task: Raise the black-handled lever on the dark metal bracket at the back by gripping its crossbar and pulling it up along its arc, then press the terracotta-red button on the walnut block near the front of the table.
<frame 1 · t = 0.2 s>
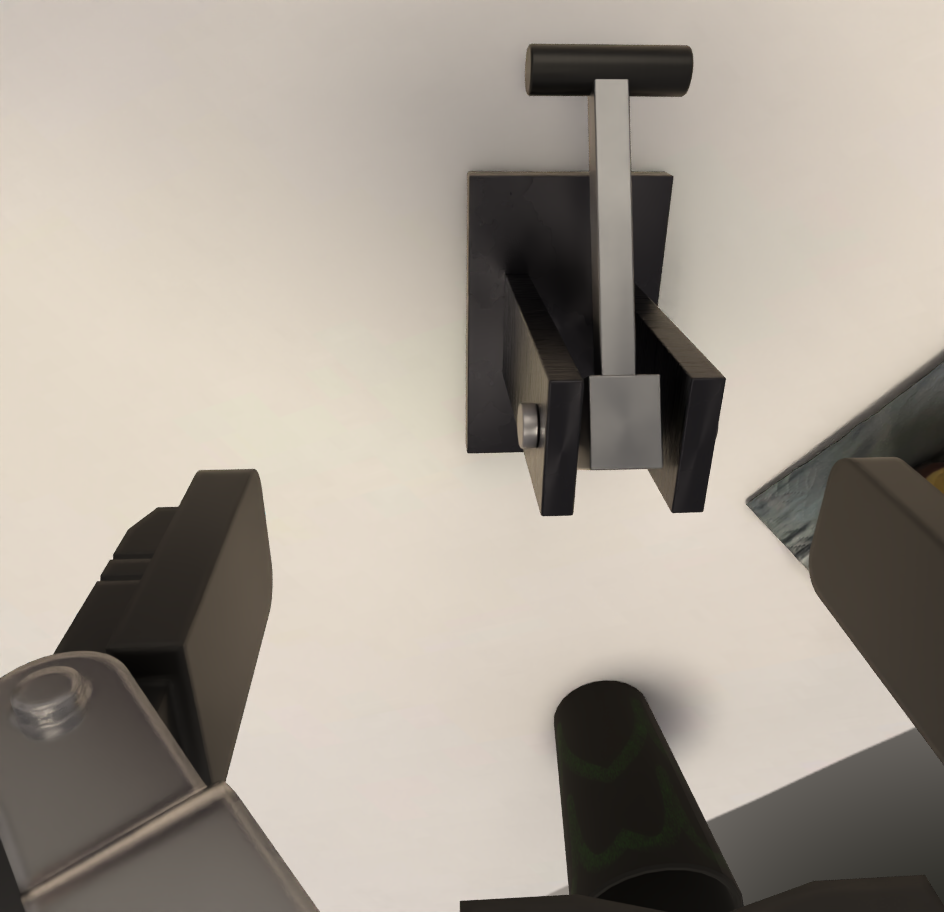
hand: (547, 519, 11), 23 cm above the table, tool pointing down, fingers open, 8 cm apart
cup: (600, 714, 45), on the table
lever: (612, 257, 24), point 9 cm above the table, hinge at -28.0°
bracket: (558, 316, 34), on the table
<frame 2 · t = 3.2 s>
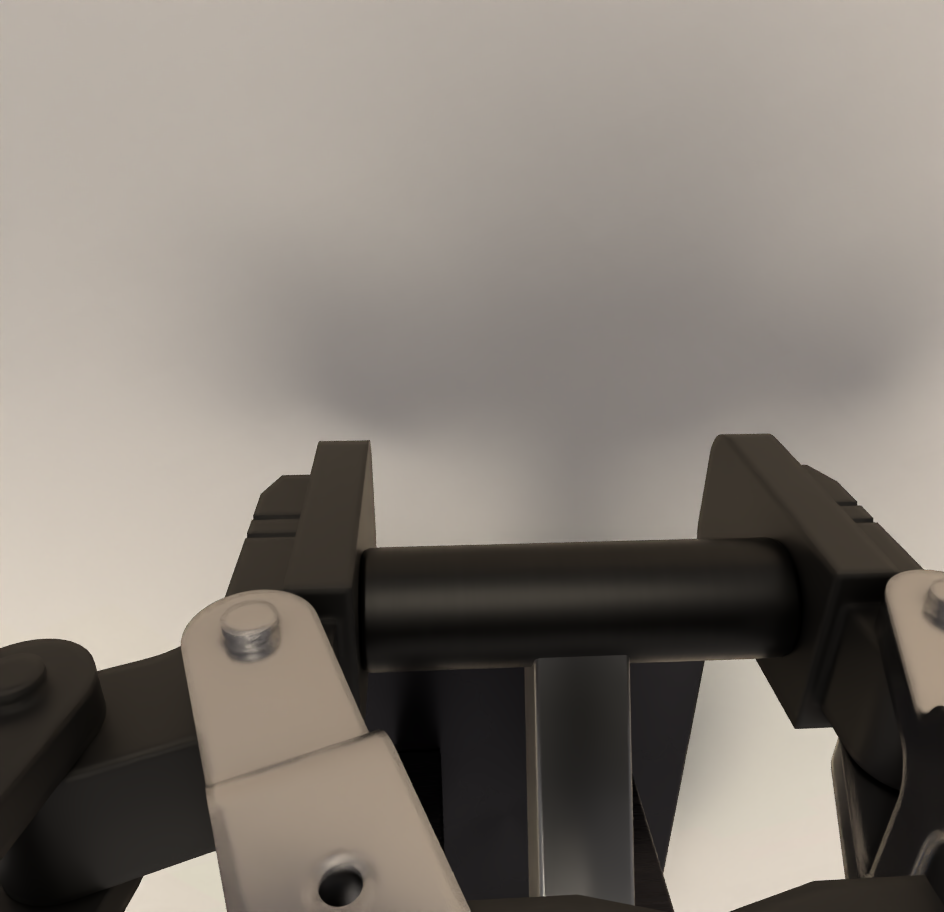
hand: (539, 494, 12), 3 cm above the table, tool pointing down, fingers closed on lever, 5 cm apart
bracket: (501, 771, 19), on the table
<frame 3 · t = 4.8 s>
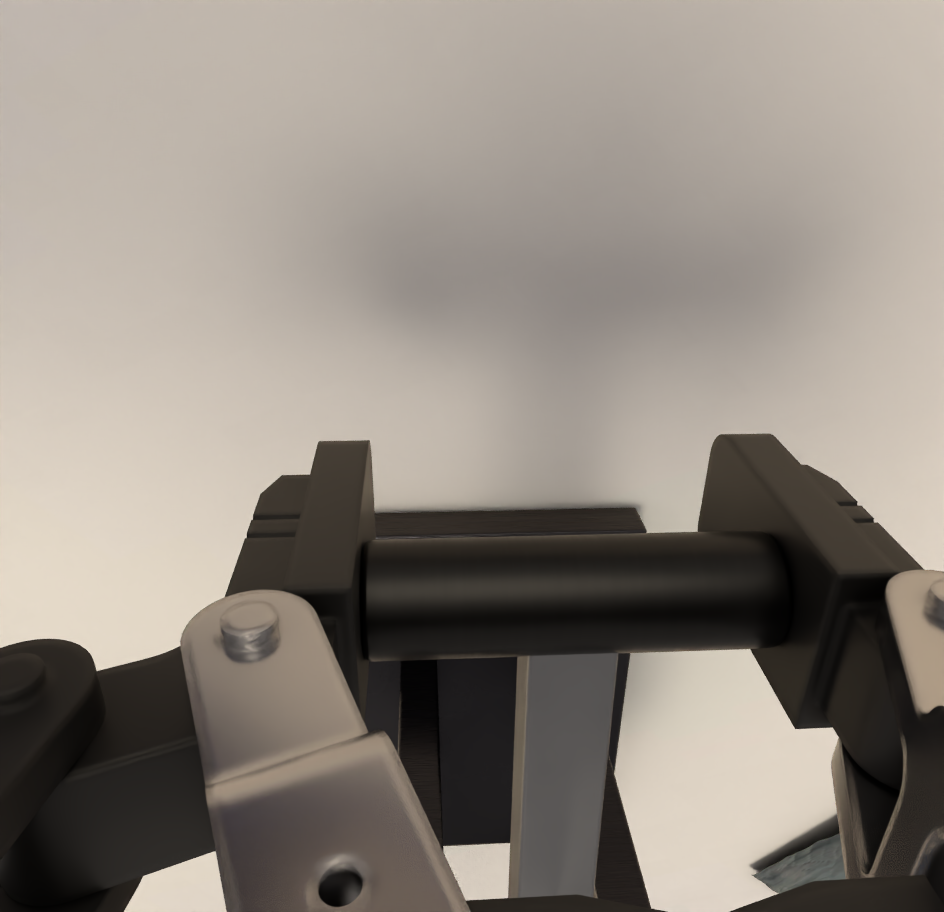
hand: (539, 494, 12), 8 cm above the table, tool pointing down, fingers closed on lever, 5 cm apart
bracket: (485, 679, 24), on the table
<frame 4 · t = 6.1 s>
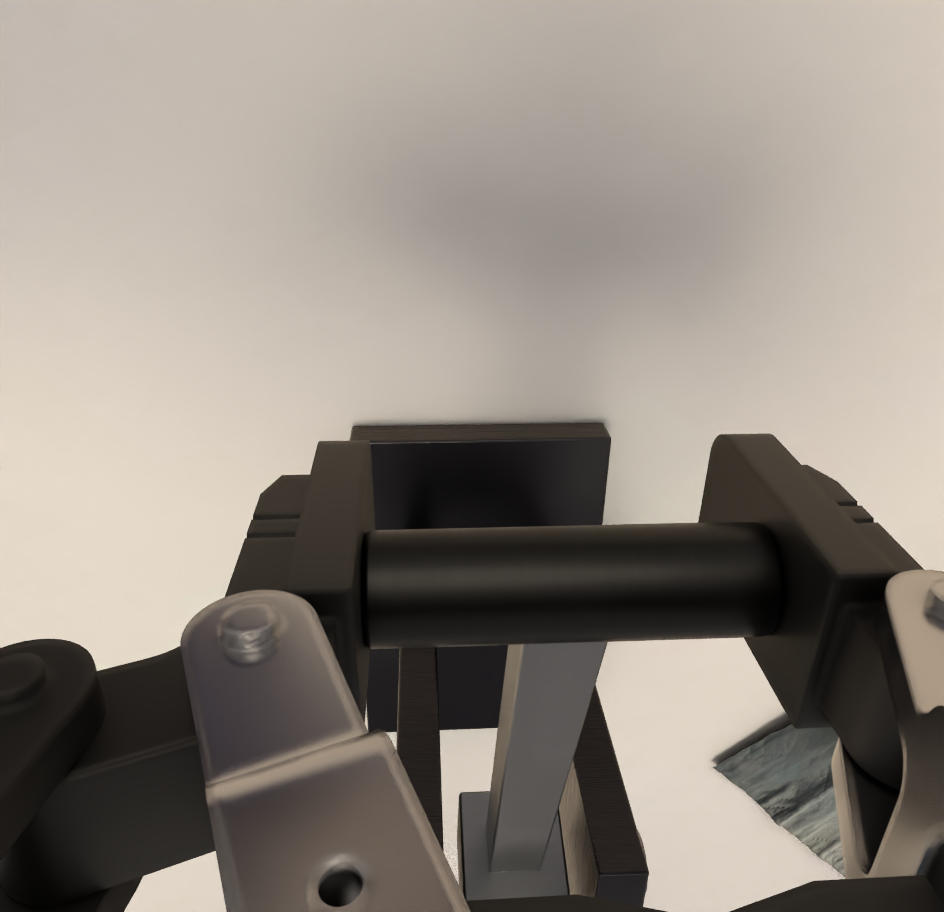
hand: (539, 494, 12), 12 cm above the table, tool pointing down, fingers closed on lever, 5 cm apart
lever: (527, 774, 14), point 13 cm above the table, hinge at 18.6°, touching gripper
bracket: (476, 578, 27), on the table
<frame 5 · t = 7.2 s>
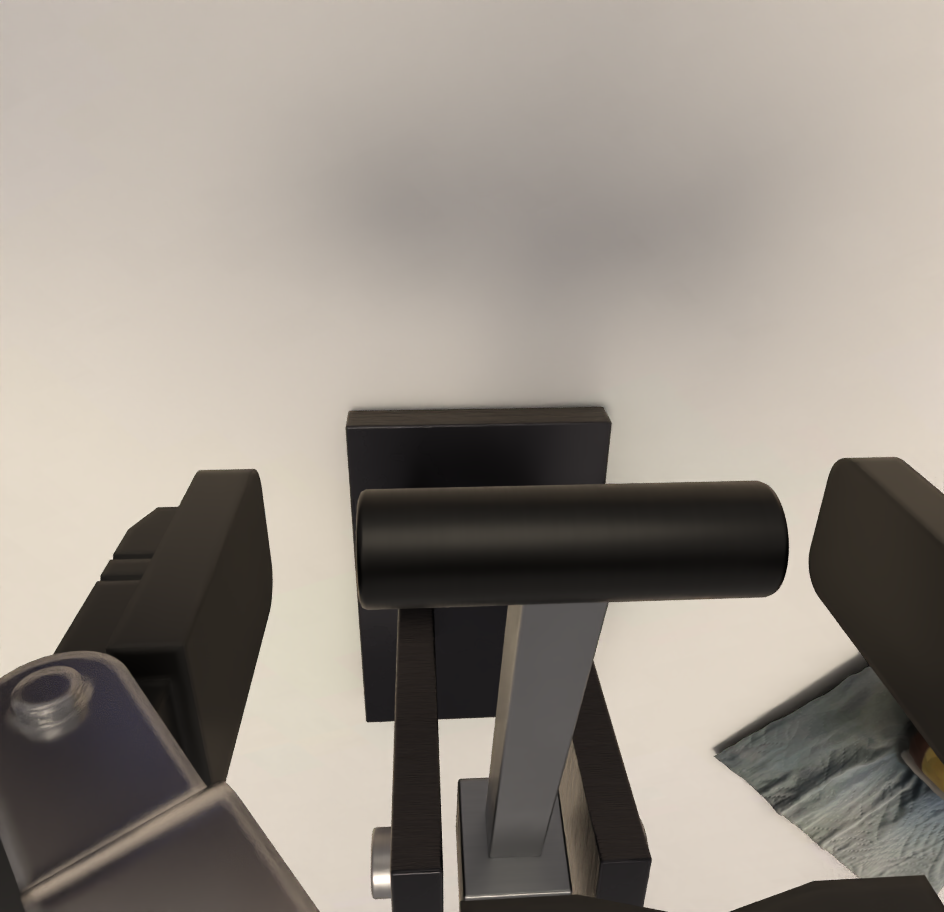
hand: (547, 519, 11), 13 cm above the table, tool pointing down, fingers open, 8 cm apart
lever: (527, 753, 14), point 13 cm above the table, hinge at 17.4°
bracket: (474, 566, 27), on the table
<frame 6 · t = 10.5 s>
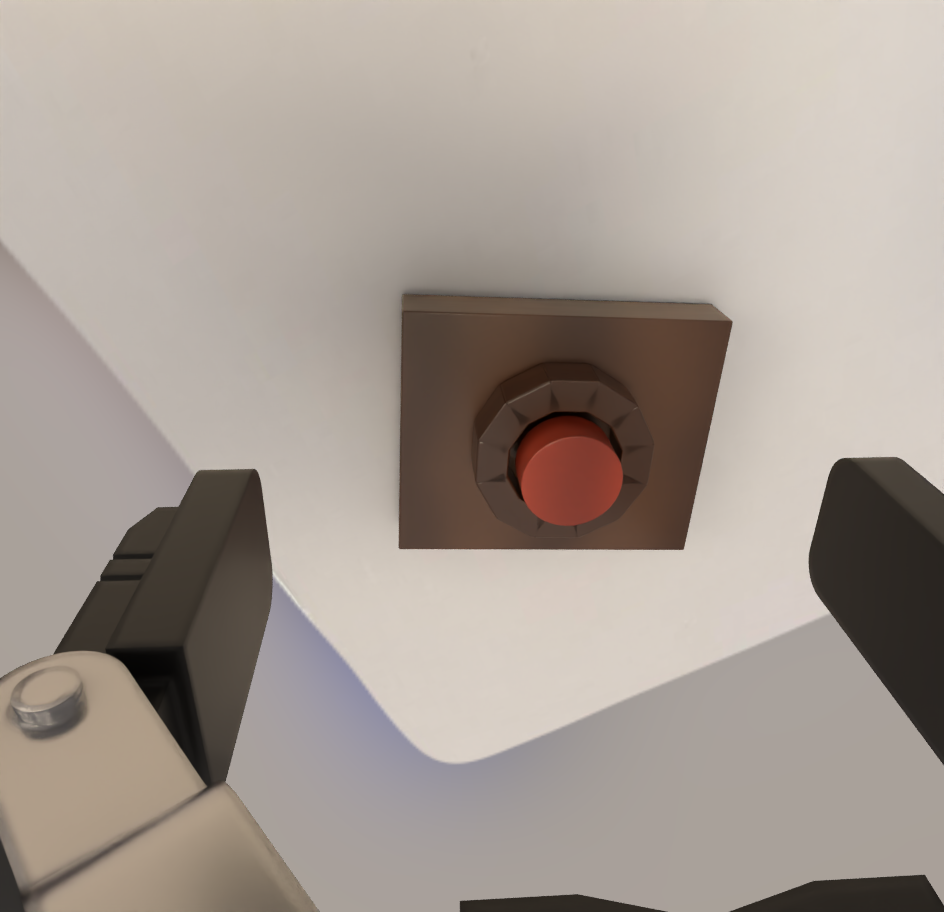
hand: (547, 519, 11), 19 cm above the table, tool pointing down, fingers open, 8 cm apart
button block: (547, 418, 32), on the table
button: (567, 470, 28), point 5 cm above the table, slide at 0.2 cm
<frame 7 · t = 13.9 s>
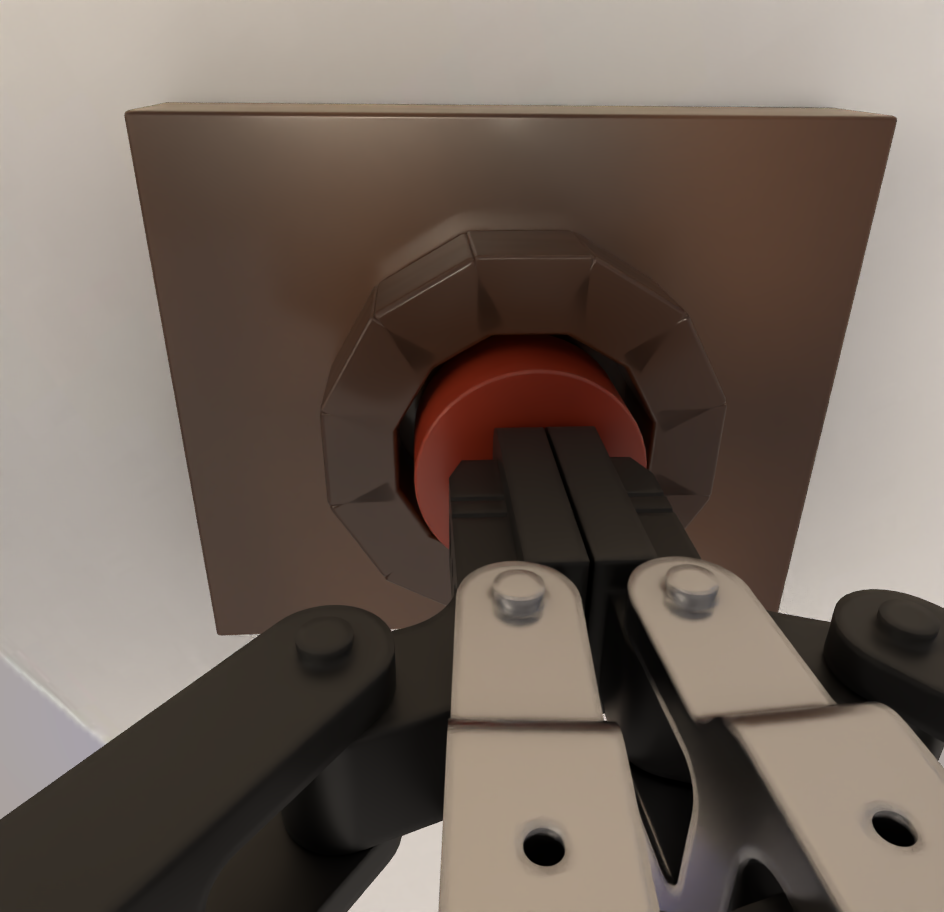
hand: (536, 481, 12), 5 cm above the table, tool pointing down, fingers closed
button block: (500, 368, 16), on the table
button: (524, 454, 13), point 4 cm above the table, slide at -0.5 cm, touching gripper
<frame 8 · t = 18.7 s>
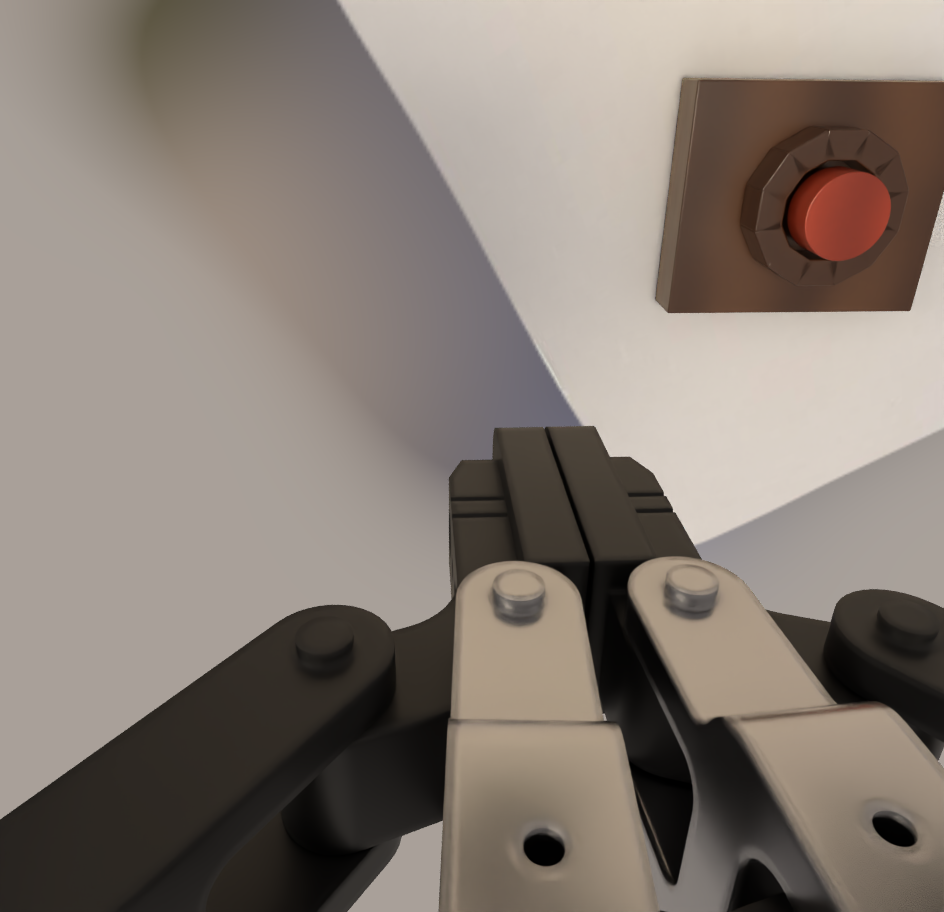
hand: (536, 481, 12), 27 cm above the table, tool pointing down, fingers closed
button block: (791, 196, 37), on the table
button: (837, 213, 33), point 5 cm above the table, slide at 0.2 cm
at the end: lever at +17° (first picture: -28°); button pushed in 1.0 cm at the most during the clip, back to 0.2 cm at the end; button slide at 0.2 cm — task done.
